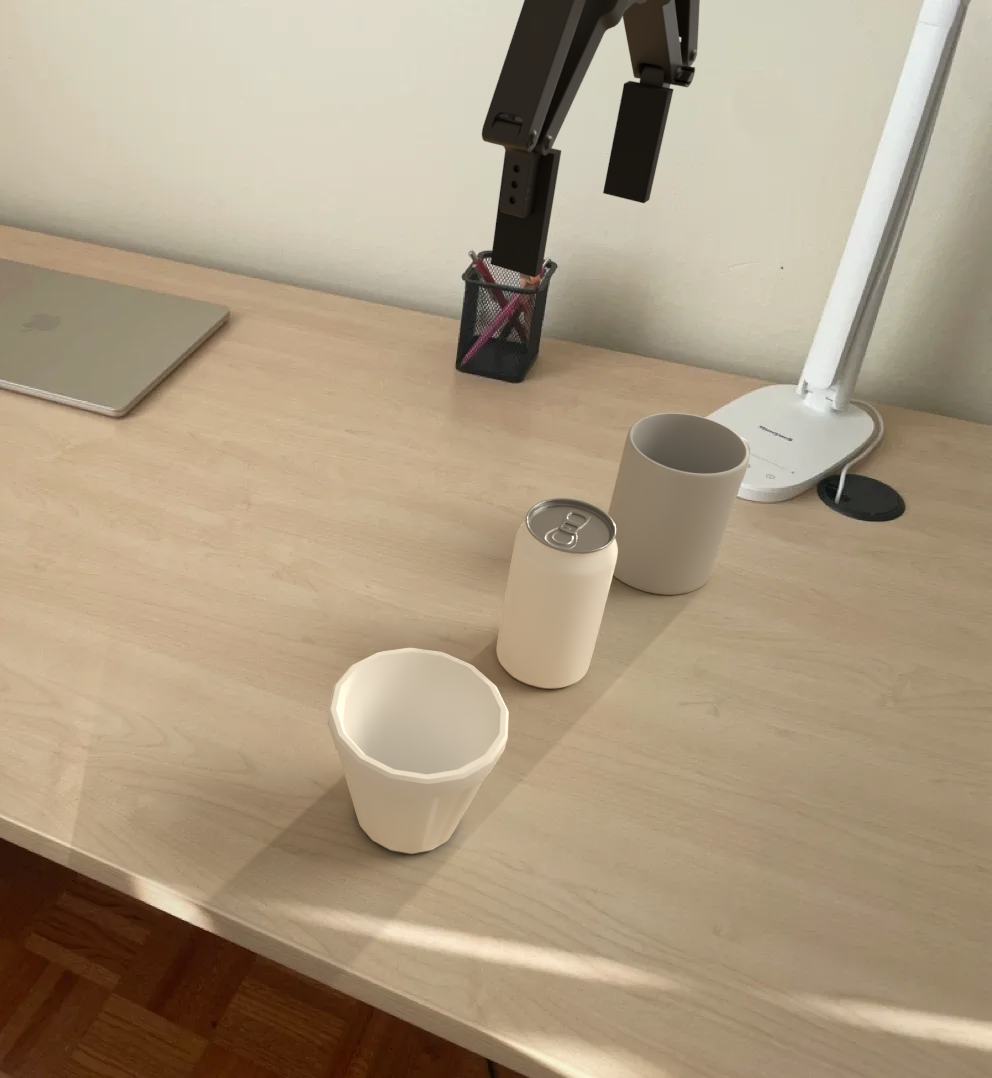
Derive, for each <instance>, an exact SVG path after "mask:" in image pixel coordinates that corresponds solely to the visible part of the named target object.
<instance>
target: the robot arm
mask: <svg viewBox="0 0 992 1078" xmlns="http://www.w3.org/2000/svg"><path fill="white" fill-rule="evenodd" d="M700 1H701V0H523V3H522V7H521V10H520V12H519V16H518V18H517V22H516V25H515V28H514V30H513V34H512V36H511V39H510V43H509V46H508V49H507V52H506V55H505V58H504V60H503V65H502V68H501V71H500V74H499V77H498V80H497V83H496V85H495V89H494V91H493V95H492V98H491V101H490V104H489V106H488V110H487V113H486V116H485V119H484V121H483V125H482V129H481V139H482V140H483V142H486V143H490V144H494V145H498V146H501V147H503V148H504V157H503V166H502V174H501V180H500V186H499V195H498V204H497V211H496V218H495V227H494V235H493V241H492V248H491V249H492V250H491V257H490V265H492V266H496V267H499V268H502V269H505V270H509V271H511V272H516V273H519V274H521V275H524V276H528V277H531V278H536V277H538V276H539V275H540V274H542V272H543V267H544V260H545V255H546V247H547V242H548V235H549V229H550V223H551V217H552V211H553V206H554V205H553V204H554V198H555V193H556V186H557V182H558V181H557V179H558V175H559V174H558V173H559V169H560V168H559V167H560V161H561V155H562V150H561V149H557V148H553V146H554V145H555V142H556V140H557V137H558V135H559V133H560V131H561V129H562V126H563V125H564V122H565V120H566V118H567V116H568V114H569V112H570V110H571V107H572V105H573V103H574V100H575V98H576V96H577V94H578V92H579V89H580V87H581V85H582V84H583V81H584V79H585V76H586V75H587V72H588V70H589V68H590V65H591V64H592V61H593V59H594V57H595V55H596V53H597V50H598V48H599V47H600V44H601V42H602V40H603V37H604V35H605V33H606V32H607V31H608V30H610V29H612V28H615V27H616V26H617V25H619V24H620V22H621V20H623V26H624V31H625V37H626V42H627V47H628V53H629V57H630V63H631V69H632V74H633V77H634V78H635V79H639V82H638V81H633V80H628V81H626V82H624V83H623V87H622V92H621V96H620V97H621V98H620V103H619V107H618V114H617V118H616V124H615V128H614V134H613V140H612V144H611V148H610V149H611V150H610V155H609V160H608V165H607V172H606V176H605V179H604V187H603V191H602V194H604V195H609V196H611V197H612V196H613V197H617V198H621V199H625V200H629V201H632V202H636V203H641V204H645V203H647V202H648V201H650V199H651V194H652V189H653V184H654V179H655V176H656V172H657V171H656V170H657V166H658V162H659V157H660V153H661V148H662V144H663V140H664V135H665V130H666V125H667V121H668V117H669V111H670V108H671V103H672V99H673V93H674V88H671V86H677V87H682V88H689V87H690V85H691V84H692V82H693V81H694V77H695V74H696V67H695V66H692V65H693V64H694V62H695V61H696V59H697V56H698V48H699V47H698V45H699V27H700V26H699V25H700V24H699V23H700V22H699V21H700V3H701V2H700Z"/></svg>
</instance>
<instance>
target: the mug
mask: <svg viewBox="0 0 992 1078" xmlns="http://www.w3.org/2000/svg"><path fill="white" fill-rule="evenodd" d="M750 456H751V446H750V444H749V442H748V440H747V439H746V438H744V437H743V436H741V435H739V434H738V433H737V432H736V431H734V430H733V429H731V428H729V427H728V426H726V425H725V424H723V423H721V422H718V421H716V420H713V419H711V418H708V417H704V416H700V415H697V414H696V415H695V414H691V413H682V412H661V413H655V414H649V415H647V416H644V417H642V418H640V419H638V420H637V421H635V422H634V423H633V424H632V426H631V427H630V428H629V430H628V432H627V435H626V438H625V441H624V446H623V450H622V455H621V459H620V463H619V468H618V471H617V476H616V480H615V484H614V488H613V492H612V496H611V500H610V504H609V508H608V512H607V514H608V515H609V516H610V517H611V519H612V520H613V522H614V523H615V526H616V536H615V539H616V543H617V547H618V554H617V560H616V565H615V569H614V573H613V577H615V578H616V579H617V580H618V581H620V582H621V583H623V584H625V585H627V586H630V587H632V588H634V589H637V590H639V591H641V592H645V593H650V594H656V595H664V596H674V595H675V596H676V595H683V594H689V593H691V592H694V591H696V590H698V589H699V588H701V587H703V586H704V585H706V583H707V582H708V581H709V579H710V578H711V576H712V574H713V572H714V569H715V566H716V563H717V558H718V556H719V553H720V549H721V546H722V542H723V540H724V538H725V537H724V536H725V533H726V531H727V528H728V524H729V521H730V519H731V515H732V513H733V510H734V507H735V503H736V502H737V501H736V500H737V497H738V494H739V491H740V488H741V485H742V483H743V481H744V477H745V475H746V472H747V469H748V466H749V461H750Z"/></svg>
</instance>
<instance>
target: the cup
mask: <svg viewBox="0 0 992 1078" xmlns="http://www.w3.org/2000/svg"><path fill="white" fill-rule="evenodd" d="M328 703H329V704H328V708H327V725H328V729H329V732H330V735H331V738H332V741H333V744H334V748H335V749H336V752H337V754H338V758H339V760H340V761H339V762H340V764H341V767H342V771H343V775H344V777H345V781H346V785H347V788H348V792H349V795H350V798H351V801H352V805H353V808H354V811H355V815H356V817H357V818H356V819H357V822H358V824H359V826H360V827H361V829H362V830H363V832H364V833H365V834H366V835H367V836H368V837H369V839H371V840H372V842H373V843H375V844H377V845H379V846H380V847H383V848H384V849H386V850H388V851H390V852H393V853H398V854H405V855H410V856H413V855H417V854H418V855H419V854H423V853H429V852H432V851H433V850H435V849H437V848H438V847H440V846H442V845H444V844H445V843H447V842H448V841H449V840H450V838H451V837H452V835H453V834H454V832H455V830H456V829H457V827H458V825H459V823H460V822H461V820H462V819H463V816H464V815H465V813H466V811H467V809H468V808H469V806H470V805H471V802H473V800H474V797H475V796H476V794H477V792H478V791H479V789H480V787H481V785H482V783H483V782H484V780H485V779H486V777H487V776H489V775H490V774H491V771H493V769H494V767H495V766H496V764H497V762H498V761H499V759H500V758H501V756H502V754H503V753H504V751H505V750H506V747H507V742H508V738H509V737H508V736H509V715H510V714H509V713H510V712H509V710H508V708H507V707H508V706H506V705H507V704H505V701H504V698H503V697H502V695H501V693H500V691H499V689H498V686H497V685H495V684H494V683H493V682H492V681H491V680H490V679H489V678H488V677H487V676H485V674H483V673H482V672H481V671H480V670H479V669H477V668H476V667H475V666H474V665H473V664H471V663H468V662H466V661H464V660H462V659H459V658H457V657H455V656H453V655H450V654H448V653H446V652H444V651H437V650H431V649H424V648H417V647H416V648H415V647H404V648H396V649H390V650H389V649H388V650H383V651H378V652H376V653H373V654H371V655H370V656H368V657H365V658H364V659H361V660H359V661H357V662H355V663H353V664H351V665H350V666H349V667H348V668H347V670H346V671H344V673H343V674H342V675H341V676H340V677H339V678H338V680H337V681H336V682H335V683H334V684H333V686H332V690H331V695H330V699H329V702H328Z"/></svg>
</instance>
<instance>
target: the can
mask: <svg viewBox="0 0 992 1078" xmlns="http://www.w3.org/2000/svg"><path fill="white" fill-rule="evenodd" d="M615 536H616V526H615V523H614V522H613V520H612V519H611V517H610V516H609V515H608V512H606V511H604V509H601V508H600V507H598V506H597V505H594V504H592V503H590V502H586V501H583V500H580V499H574V498H569V497H568V498H567V497H555V498H550V499H549V498H548V499H544V500H542V501H539V502H537V503H536V504H534V505H533V506H531V507H530V508H529V509H528V511H527V512H526V515H525V520H524V521H523V522H522V523H521V525H520V526H519V528H518V529H517V532H516V535H515V538H514V543H513V548H512V554H511V560H510V565H509V570H508V575H507V576H508V577H507V582H506V586H505V593H504V599H503V605H502V610H501V617H500V622H499V626H498V627H499V628H498V634H497V639H496V649H495V650H496V651H495V652H496V656H497V660H498V662H499V663H500V665H501V667H503V669H504V670H505V671H506V672H507V673H508V674H509V675H510V676H511V677H512V678H513V679H515V680H516V681H518V682H520V683H522V684H524V685H527V686H530V687H533V688H537V689H543V690H557V689H563V688H567V687H569V686H572V685H574V684H576V683H578V682H579V681H581V680H582V679H583V678H584V677H585V676H586V675H587V673H588V671H589V668H590V665H591V662H592V659H593V654H594V651H595V648H596V644H597V643H596V642H597V639H598V636H599V631H600V628H601V624H602V620H603V616H604V612H605V609H606V605H607V600H608V596H609V592H610V589H611V585H612V581H613V577H614V575H613V573H614V569H615V565H616V560H617V554H618V547H617V543H616V539H615Z"/></svg>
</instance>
